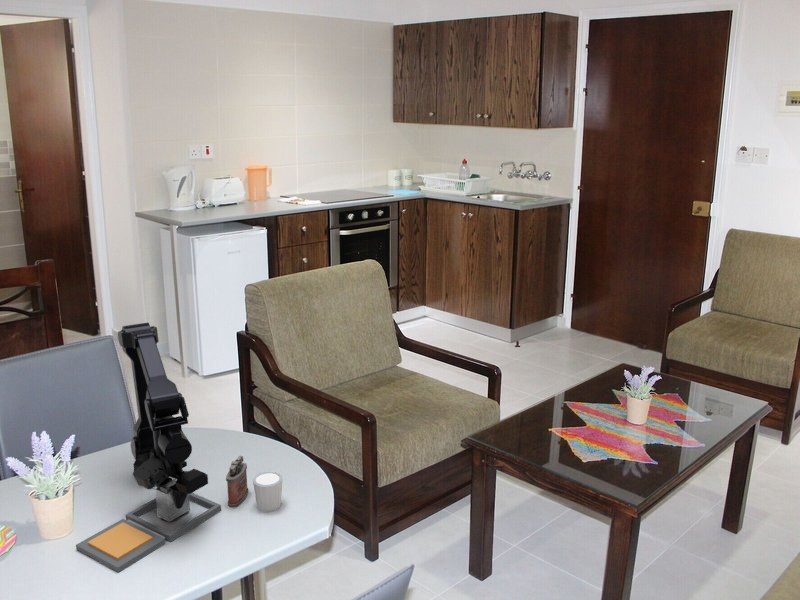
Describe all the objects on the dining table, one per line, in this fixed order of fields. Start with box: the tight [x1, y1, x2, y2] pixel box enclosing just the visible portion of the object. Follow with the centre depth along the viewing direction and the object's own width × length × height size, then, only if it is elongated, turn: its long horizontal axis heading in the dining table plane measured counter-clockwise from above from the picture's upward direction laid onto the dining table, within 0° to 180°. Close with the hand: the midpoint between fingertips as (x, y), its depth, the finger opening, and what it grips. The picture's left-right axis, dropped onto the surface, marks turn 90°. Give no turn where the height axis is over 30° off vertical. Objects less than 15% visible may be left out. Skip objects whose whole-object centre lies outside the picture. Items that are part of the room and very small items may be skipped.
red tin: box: [225, 455, 249, 509], centre depth 182 cm, size 8×3×10 cm, turn 168°
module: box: [154, 479, 191, 522], centre depth 175 cm, size 4×6×8 cm, turn 147°
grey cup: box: [252, 471, 283, 513], centre depth 179 cm, size 7×7×7 cm
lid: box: [75, 518, 166, 573], centre depth 164 cm, size 14×13×2 cm
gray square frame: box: [124, 492, 222, 543], centre depth 176 cm, size 15×15×2 cm
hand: (173, 505), depth 175 cm, fingers closed on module, 4 cm apart
